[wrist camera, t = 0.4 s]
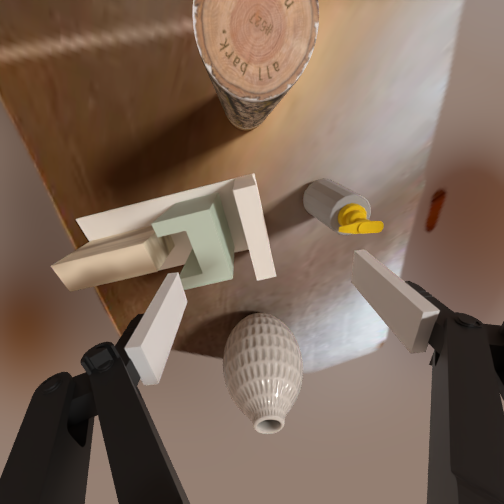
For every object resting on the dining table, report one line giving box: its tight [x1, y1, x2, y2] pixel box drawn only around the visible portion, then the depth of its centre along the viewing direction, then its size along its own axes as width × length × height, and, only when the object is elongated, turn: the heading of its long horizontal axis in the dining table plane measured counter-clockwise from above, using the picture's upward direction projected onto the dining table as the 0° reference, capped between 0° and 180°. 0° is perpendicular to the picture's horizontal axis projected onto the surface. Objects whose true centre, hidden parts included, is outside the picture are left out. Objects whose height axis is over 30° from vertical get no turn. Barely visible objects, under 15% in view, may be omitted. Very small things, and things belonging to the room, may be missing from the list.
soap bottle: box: [303, 179, 384, 235], centre depth 33 cm, size 7×7×18 cm
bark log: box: [193, 0, 319, 131], centre depth 23 cm, size 7×7×25 cm
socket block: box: [151, 192, 235, 290], centre depth 36 cm, size 11×8×12 cm
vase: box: [223, 313, 303, 434], centre depth 44 cm, size 16×16×22 cm
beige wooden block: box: [51, 226, 175, 292], centre depth 38 cm, size 5×15×10 cm, turn 103°
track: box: [76, 173, 276, 281], centre depth 37 cm, size 14×34×13 cm, turn 103°
